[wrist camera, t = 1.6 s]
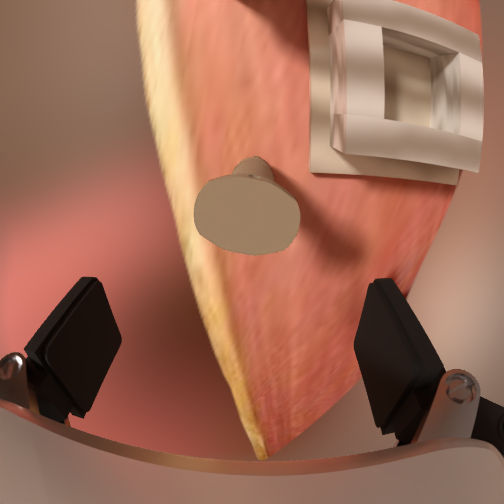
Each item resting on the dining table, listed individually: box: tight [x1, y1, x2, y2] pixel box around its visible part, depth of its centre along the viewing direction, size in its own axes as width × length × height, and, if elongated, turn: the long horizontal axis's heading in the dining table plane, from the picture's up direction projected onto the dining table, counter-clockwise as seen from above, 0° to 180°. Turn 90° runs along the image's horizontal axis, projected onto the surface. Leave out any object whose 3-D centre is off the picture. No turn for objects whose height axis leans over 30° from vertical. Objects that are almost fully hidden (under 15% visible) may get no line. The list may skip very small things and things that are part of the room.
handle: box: [194, 156, 300, 255], centre depth 23 cm, size 5×6×15 cm
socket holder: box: [306, 0, 484, 186], centre depth 21 cm, size 22×20×7 cm
